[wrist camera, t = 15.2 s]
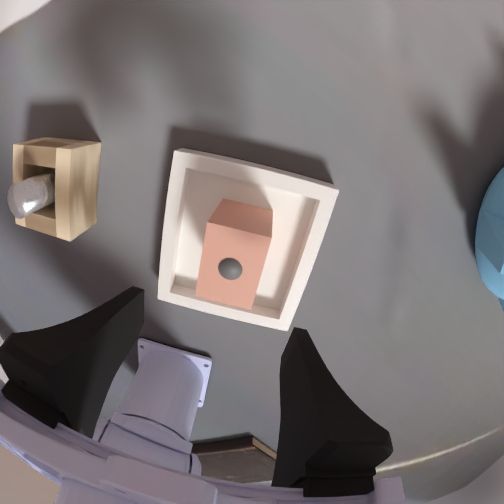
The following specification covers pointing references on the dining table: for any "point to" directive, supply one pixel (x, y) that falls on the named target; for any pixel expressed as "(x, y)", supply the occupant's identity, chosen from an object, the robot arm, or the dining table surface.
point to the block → (234, 253)
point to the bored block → (61, 183)
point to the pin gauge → (32, 194)
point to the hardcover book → (236, 460)
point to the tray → (253, 193)
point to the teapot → (492, 237)
